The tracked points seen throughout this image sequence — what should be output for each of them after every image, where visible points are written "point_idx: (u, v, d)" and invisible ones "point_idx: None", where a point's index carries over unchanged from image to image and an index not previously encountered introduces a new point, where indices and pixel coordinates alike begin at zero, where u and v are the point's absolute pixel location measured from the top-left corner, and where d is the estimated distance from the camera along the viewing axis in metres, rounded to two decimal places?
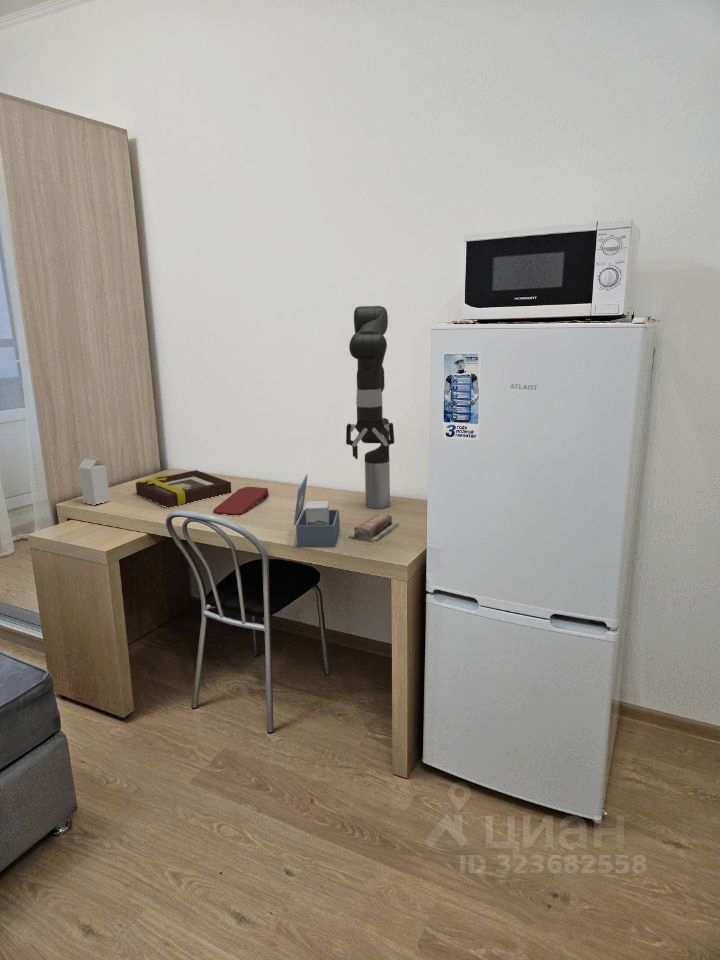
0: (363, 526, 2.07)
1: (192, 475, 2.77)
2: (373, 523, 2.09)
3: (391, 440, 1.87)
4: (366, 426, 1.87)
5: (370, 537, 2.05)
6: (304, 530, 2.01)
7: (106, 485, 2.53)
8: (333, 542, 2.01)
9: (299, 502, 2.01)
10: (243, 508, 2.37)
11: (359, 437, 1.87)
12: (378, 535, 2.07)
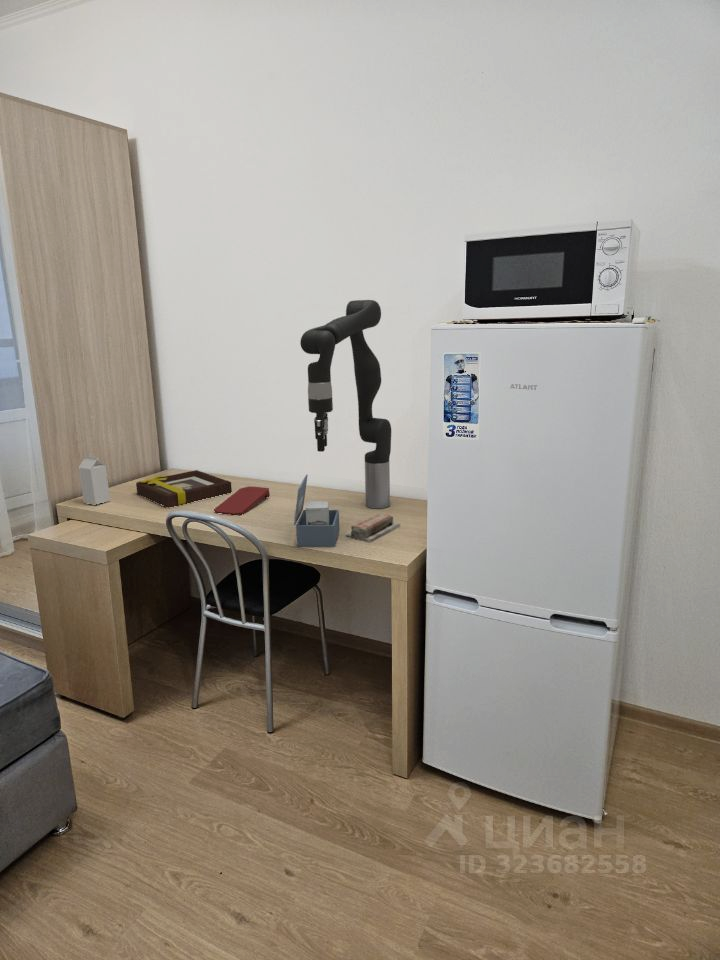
0: (360, 525, 2.08)
1: (192, 475, 2.77)
2: (371, 523, 2.10)
3: (327, 428, 2.07)
4: (324, 417, 1.99)
5: (365, 537, 2.05)
6: (304, 530, 2.01)
7: (106, 485, 2.53)
8: (333, 542, 2.01)
9: (299, 502, 2.01)
10: (243, 508, 2.37)
11: (325, 428, 1.98)
12: (374, 535, 2.08)
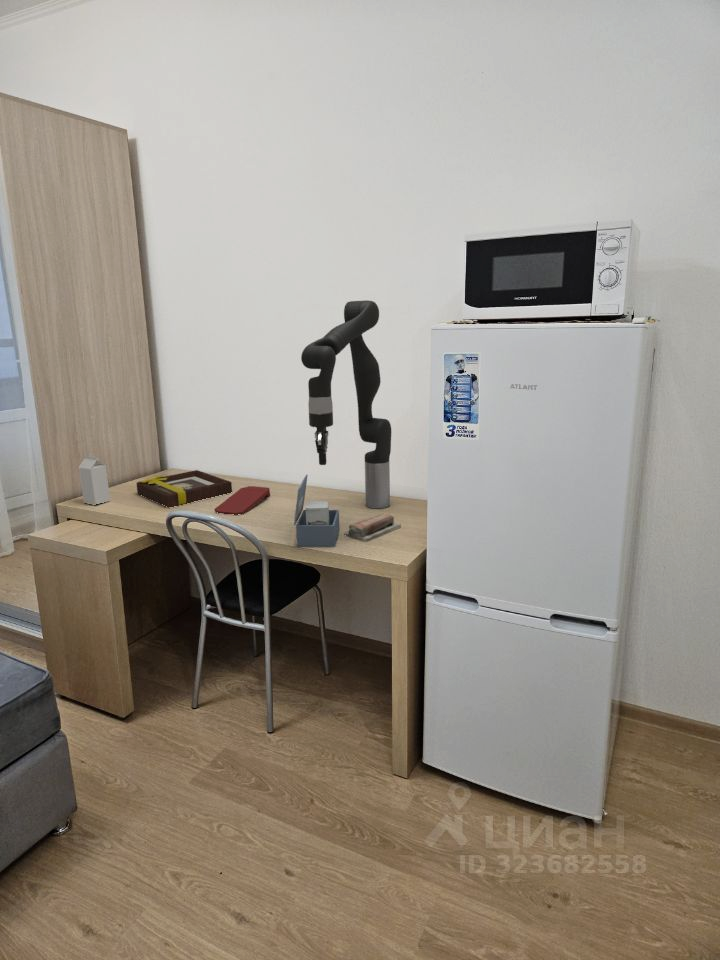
0: (357, 524, 2.09)
1: (193, 475, 2.77)
2: (369, 522, 2.10)
3: (326, 445, 2.05)
4: (324, 431, 2.00)
5: (361, 536, 2.06)
6: (304, 530, 2.01)
7: (106, 485, 2.53)
8: (333, 542, 2.01)
9: (299, 502, 2.01)
10: (244, 507, 2.37)
11: (326, 443, 2.01)
12: (371, 535, 2.08)
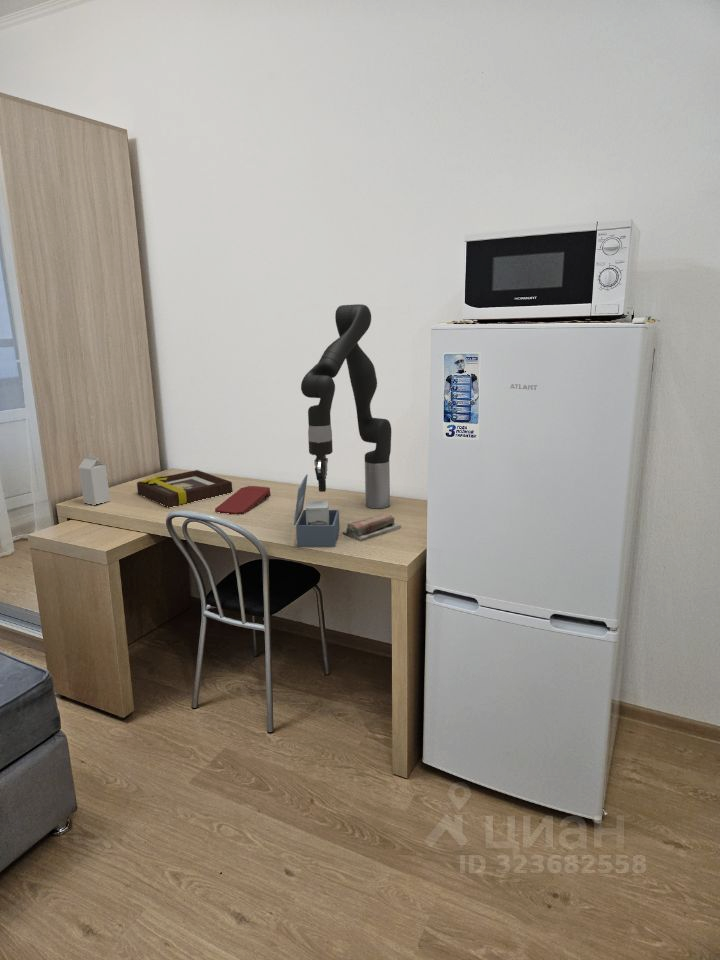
0: (355, 523, 2.09)
1: (193, 475, 2.77)
2: (367, 522, 2.10)
3: (326, 472, 2.07)
4: (324, 458, 2.03)
5: (358, 535, 2.07)
6: (304, 530, 2.01)
7: (106, 485, 2.53)
8: (333, 542, 2.01)
9: (299, 502, 2.01)
10: (244, 507, 2.38)
11: (326, 470, 2.04)
12: (368, 534, 2.08)
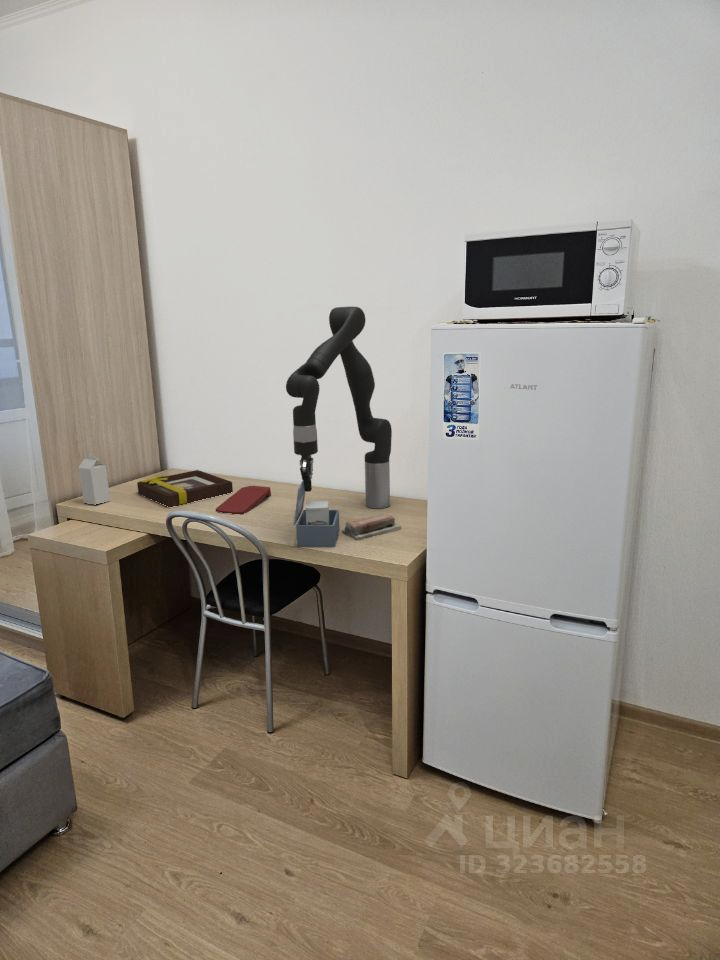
0: (353, 522, 2.10)
1: (193, 475, 2.77)
2: (365, 521, 2.11)
3: None
4: (309, 458, 2.03)
5: (354, 534, 2.08)
6: (304, 530, 2.01)
7: (106, 485, 2.53)
8: (333, 542, 2.01)
9: (299, 502, 2.01)
10: (245, 507, 2.38)
11: (311, 470, 2.04)
12: (365, 534, 2.09)
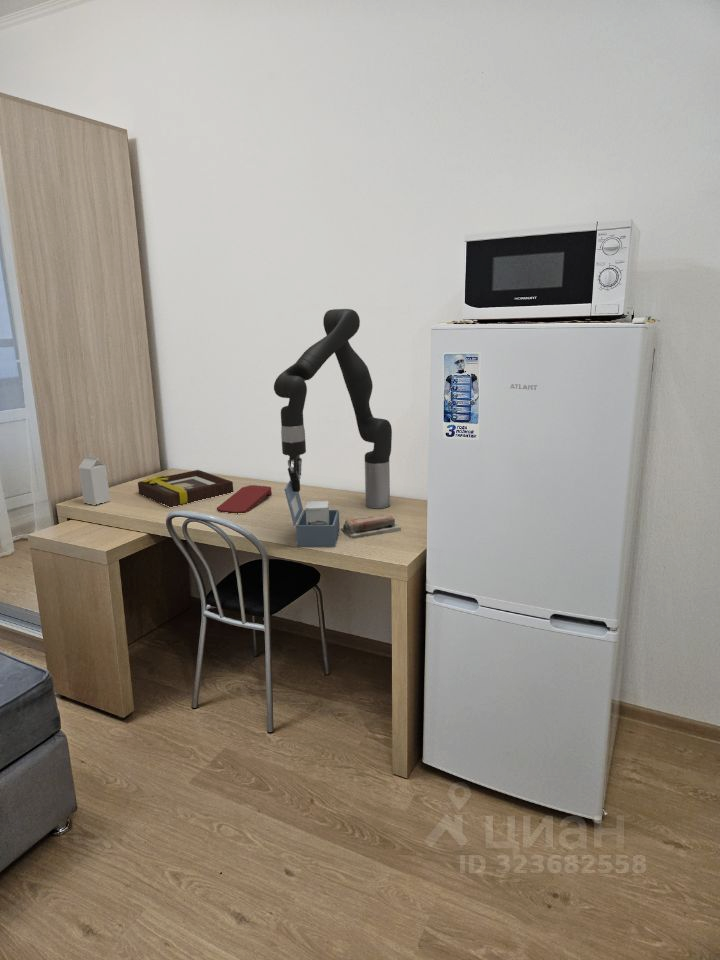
0: (351, 521, 2.12)
1: (194, 475, 2.78)
2: (363, 521, 2.12)
3: (300, 472, 2.08)
4: (297, 459, 2.03)
5: (350, 532, 2.09)
6: (304, 530, 2.01)
7: (106, 485, 2.53)
8: (333, 542, 2.01)
9: (291, 502, 2.01)
10: (246, 506, 2.39)
11: (300, 470, 2.04)
12: (361, 533, 2.10)
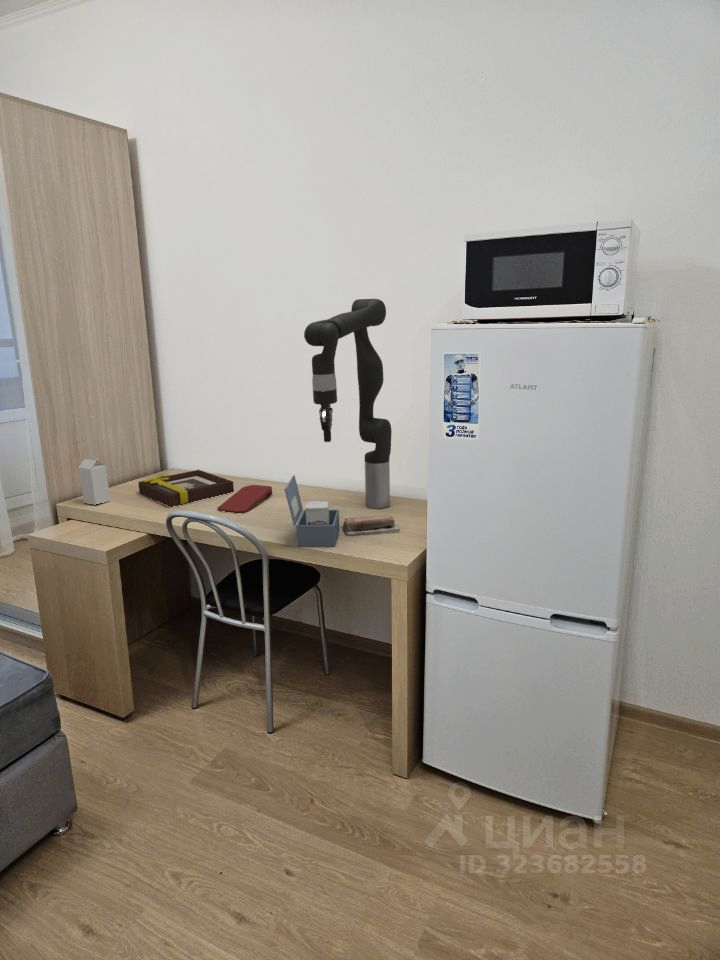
0: (350, 519, 2.14)
1: (195, 475, 2.78)
2: (362, 520, 2.13)
3: (331, 423, 2.06)
4: (328, 408, 2.02)
5: (347, 530, 2.11)
6: (304, 530, 2.01)
7: (106, 485, 2.53)
8: (333, 542, 2.01)
9: (291, 502, 2.01)
10: (247, 506, 2.39)
11: (331, 420, 2.03)
12: (358, 532, 2.11)
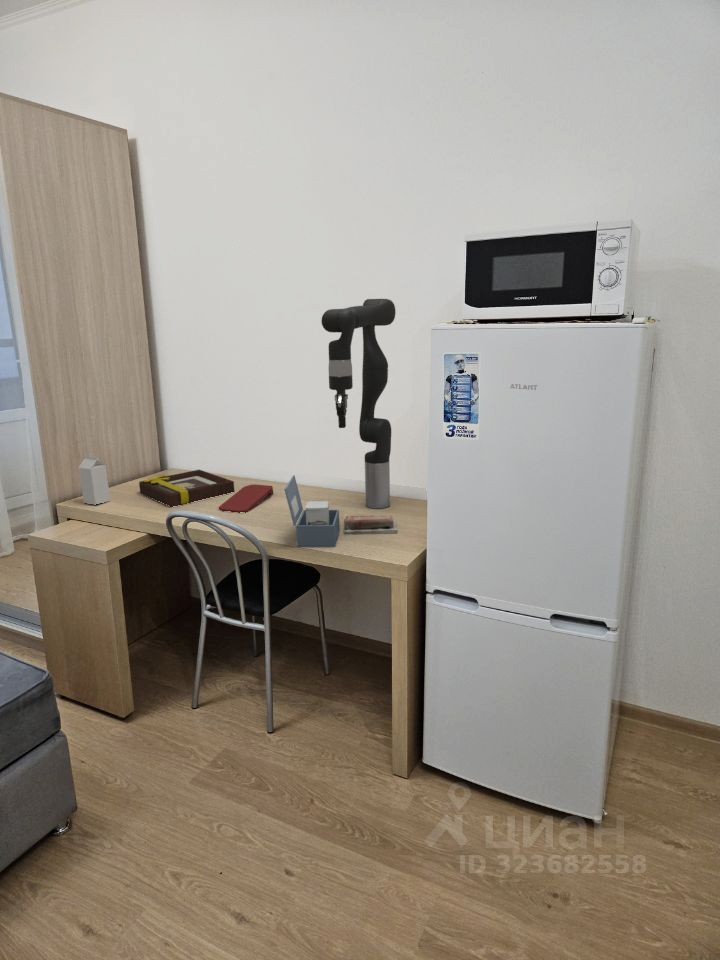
0: (350, 517, 2.16)
1: (195, 474, 2.78)
2: (361, 518, 2.14)
3: None
4: (344, 394, 2.04)
5: (344, 528, 2.13)
6: (304, 530, 2.01)
7: (106, 485, 2.53)
8: (333, 542, 2.01)
9: (291, 502, 2.01)
10: (248, 505, 2.40)
11: (346, 406, 2.05)
12: (355, 530, 2.12)
